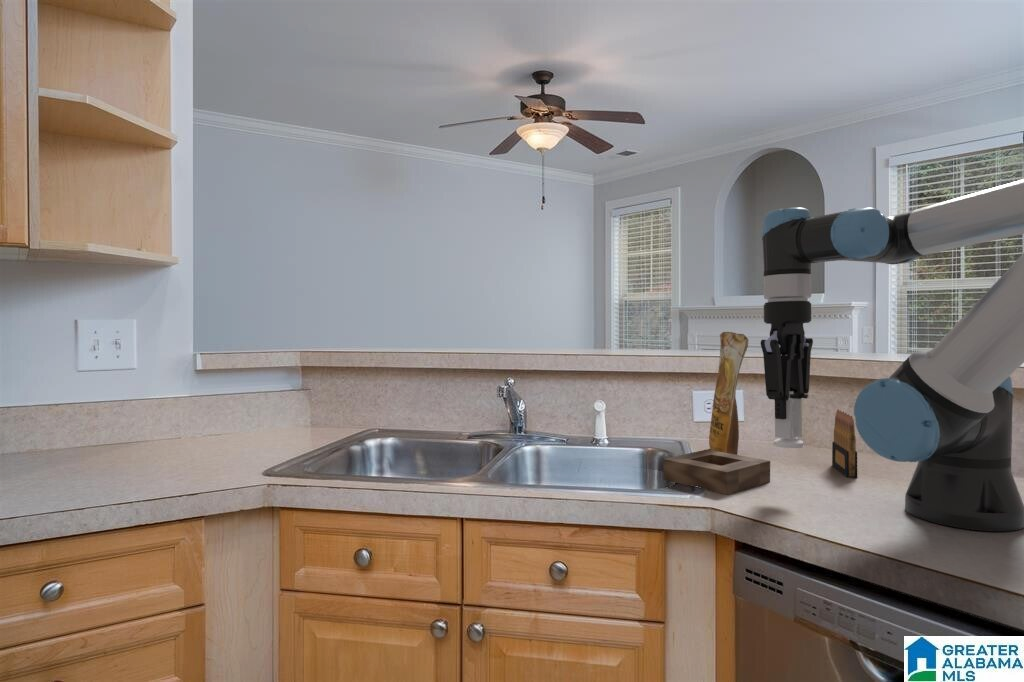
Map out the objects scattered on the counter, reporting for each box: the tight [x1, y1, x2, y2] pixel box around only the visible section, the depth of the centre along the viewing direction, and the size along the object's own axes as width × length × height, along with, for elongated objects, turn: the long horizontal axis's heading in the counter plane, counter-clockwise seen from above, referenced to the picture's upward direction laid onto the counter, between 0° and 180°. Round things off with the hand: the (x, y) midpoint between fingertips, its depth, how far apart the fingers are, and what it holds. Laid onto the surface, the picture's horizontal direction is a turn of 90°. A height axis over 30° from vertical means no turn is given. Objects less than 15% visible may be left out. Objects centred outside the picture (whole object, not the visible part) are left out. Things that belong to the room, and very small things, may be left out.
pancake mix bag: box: [708, 331, 749, 455], centre depth 144 cm, size 7×19×28 cm, turn 170°
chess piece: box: [772, 388, 805, 449], centre depth 108 cm, size 5×5×10 cm
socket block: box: [662, 449, 771, 496], centre depth 120 cm, size 14×14×4 cm
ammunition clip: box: [831, 409, 858, 479], centre depth 126 cm, size 11×2×12 cm, turn 167°
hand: (788, 436), depth 108 cm, fingers closed on chess piece, 2 cm apart
